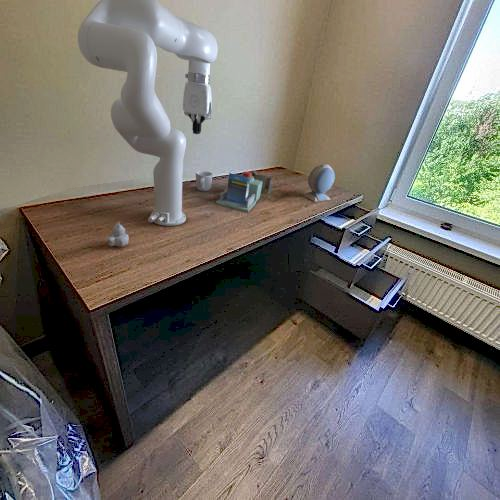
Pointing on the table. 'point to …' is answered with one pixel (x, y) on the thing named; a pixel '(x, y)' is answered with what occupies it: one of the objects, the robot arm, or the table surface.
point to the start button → (247, 174)
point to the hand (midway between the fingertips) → (196, 133)
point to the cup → (203, 180)
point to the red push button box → (253, 187)
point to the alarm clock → (320, 182)
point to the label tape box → (237, 188)
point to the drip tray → (235, 205)
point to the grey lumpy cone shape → (118, 236)
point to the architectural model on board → (266, 182)
